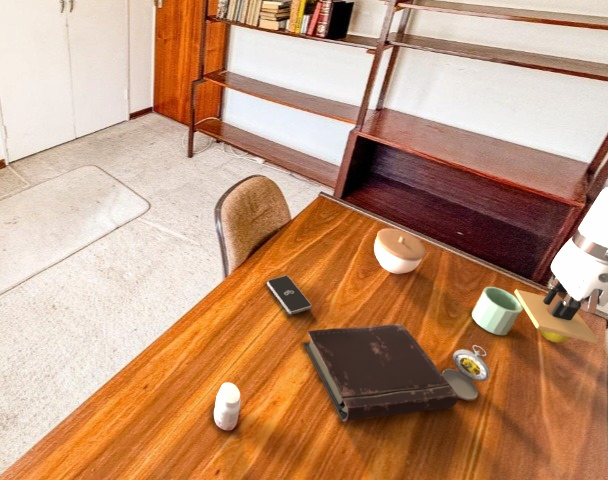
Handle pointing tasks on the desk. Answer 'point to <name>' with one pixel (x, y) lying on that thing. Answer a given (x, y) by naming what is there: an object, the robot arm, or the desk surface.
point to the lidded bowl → (398, 250)
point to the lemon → (554, 336)
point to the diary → (377, 372)
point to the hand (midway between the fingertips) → (556, 310)
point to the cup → (497, 310)
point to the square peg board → (547, 322)
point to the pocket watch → (467, 373)
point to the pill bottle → (227, 406)
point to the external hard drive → (289, 295)
